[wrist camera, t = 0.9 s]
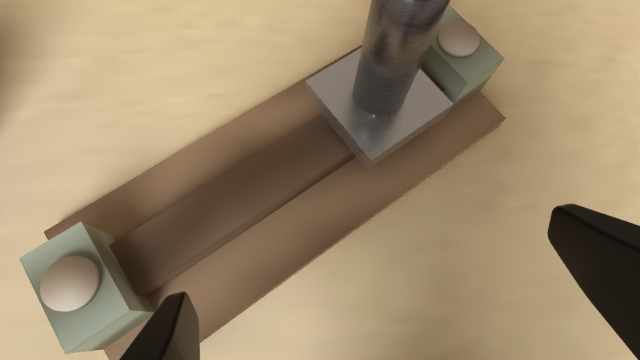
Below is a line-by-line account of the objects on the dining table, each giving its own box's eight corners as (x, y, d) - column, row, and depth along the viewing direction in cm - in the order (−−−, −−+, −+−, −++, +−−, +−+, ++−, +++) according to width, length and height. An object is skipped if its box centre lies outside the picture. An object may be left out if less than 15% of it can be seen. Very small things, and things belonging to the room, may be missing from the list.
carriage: (445, 116, 23) (564, -59, 13) (366, 170, 22) (427, 24, 11) (381, 48, 25) (441, -159, 14) (305, 94, 24) (307, -97, 13)
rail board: (498, 125, 27) (539, 84, 22) (134, 390, 20) (85, 409, 16) (403, 27, 29) (422, -28, 25) (54, 235, 23) (-8, 212, 18)
